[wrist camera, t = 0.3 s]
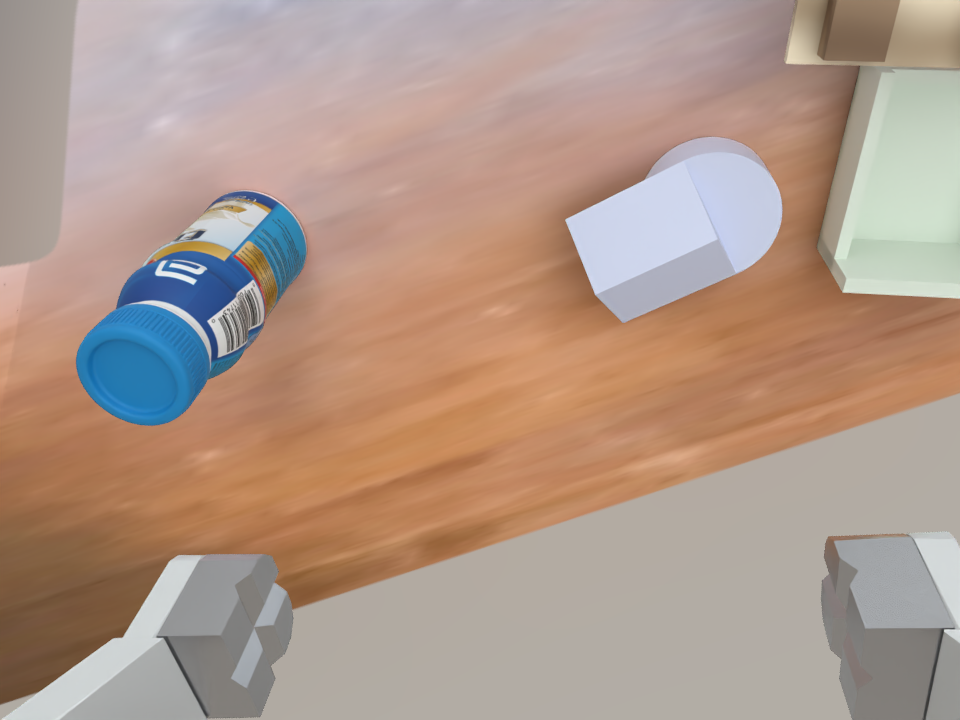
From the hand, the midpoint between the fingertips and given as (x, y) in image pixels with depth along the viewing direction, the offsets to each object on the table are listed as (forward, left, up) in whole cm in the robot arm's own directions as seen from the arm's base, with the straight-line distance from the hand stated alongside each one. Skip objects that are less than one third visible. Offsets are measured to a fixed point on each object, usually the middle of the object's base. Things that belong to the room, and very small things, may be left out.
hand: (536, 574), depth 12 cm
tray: (+8, +23, -46) cm, 52 cm away
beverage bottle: (+16, -24, -46) cm, 54 cm away
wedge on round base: (+16, +2, -43) cm, 46 cm away
